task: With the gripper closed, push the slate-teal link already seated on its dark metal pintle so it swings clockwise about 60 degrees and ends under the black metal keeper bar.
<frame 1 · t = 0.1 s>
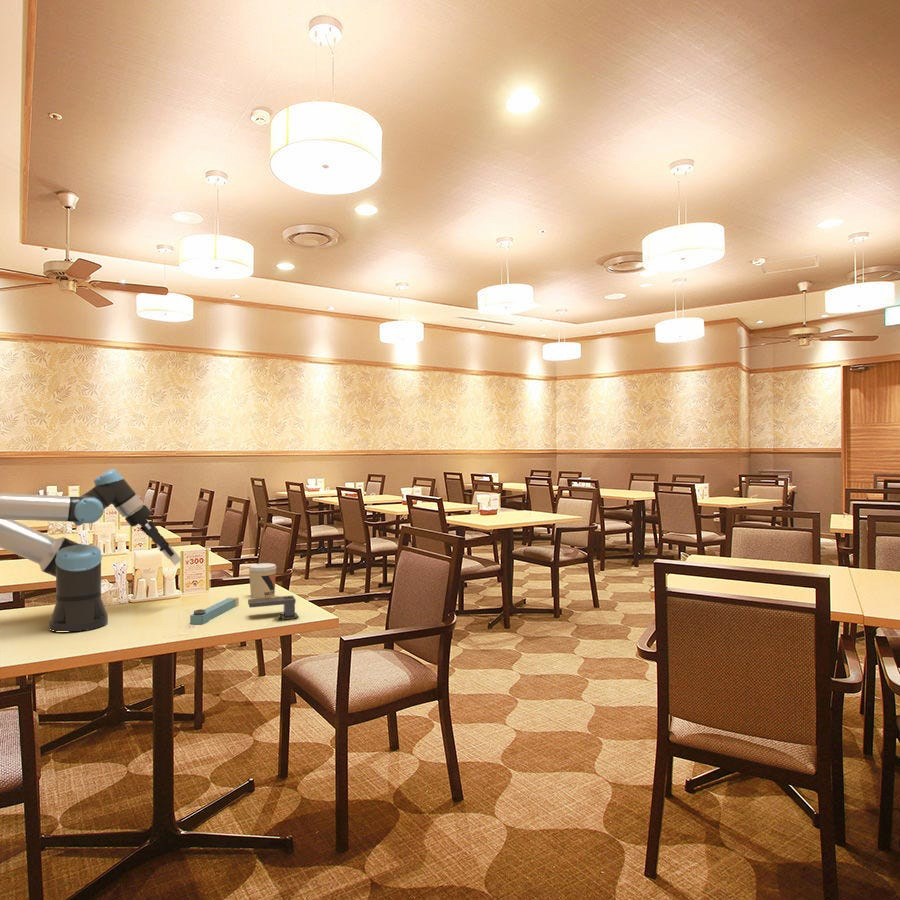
hand: (175, 559, 218), 15 cm above the table, tool tilted 35°, fingers open, 13 cm apart
keeper: (289, 617, 199), on the table
pintle base: (199, 626, 190), on the table
coffee cup: (262, 600, 225), on the table
swing link: (216, 609, 199), point 3 cm above the table, hinge at 0.0°
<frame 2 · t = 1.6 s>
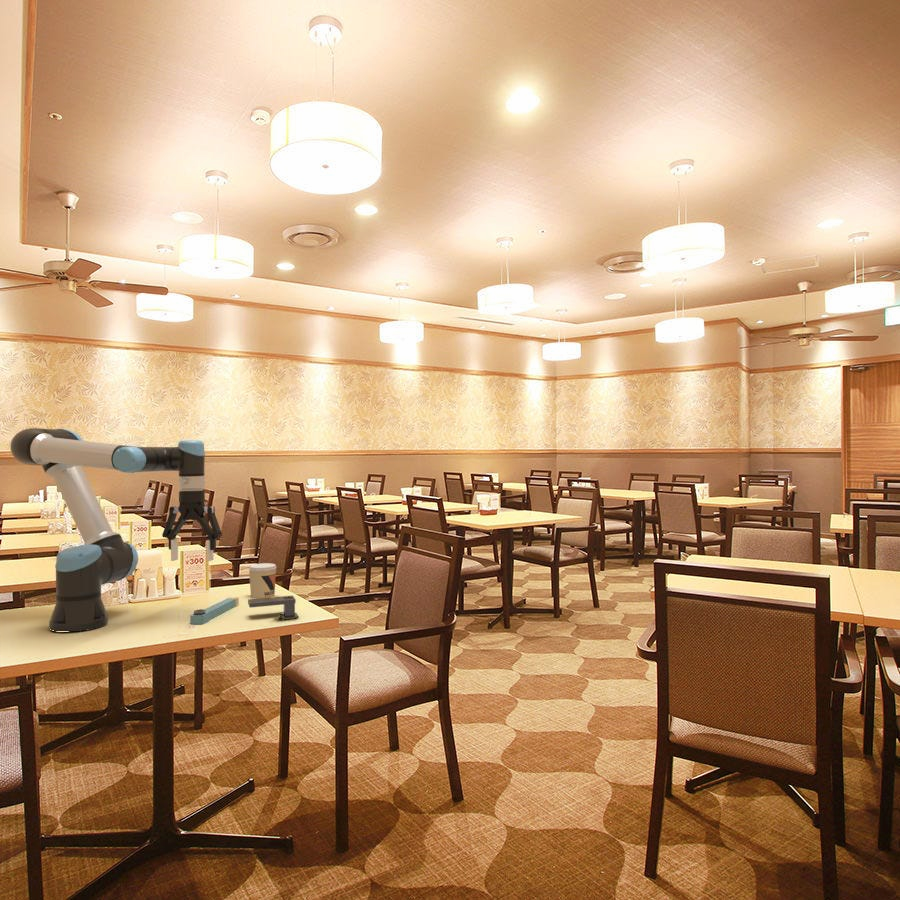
hand: (192, 560, 199), 18 cm above the table, tool pointing down, fingers open, 11 cm apart
nothing on the table moved.
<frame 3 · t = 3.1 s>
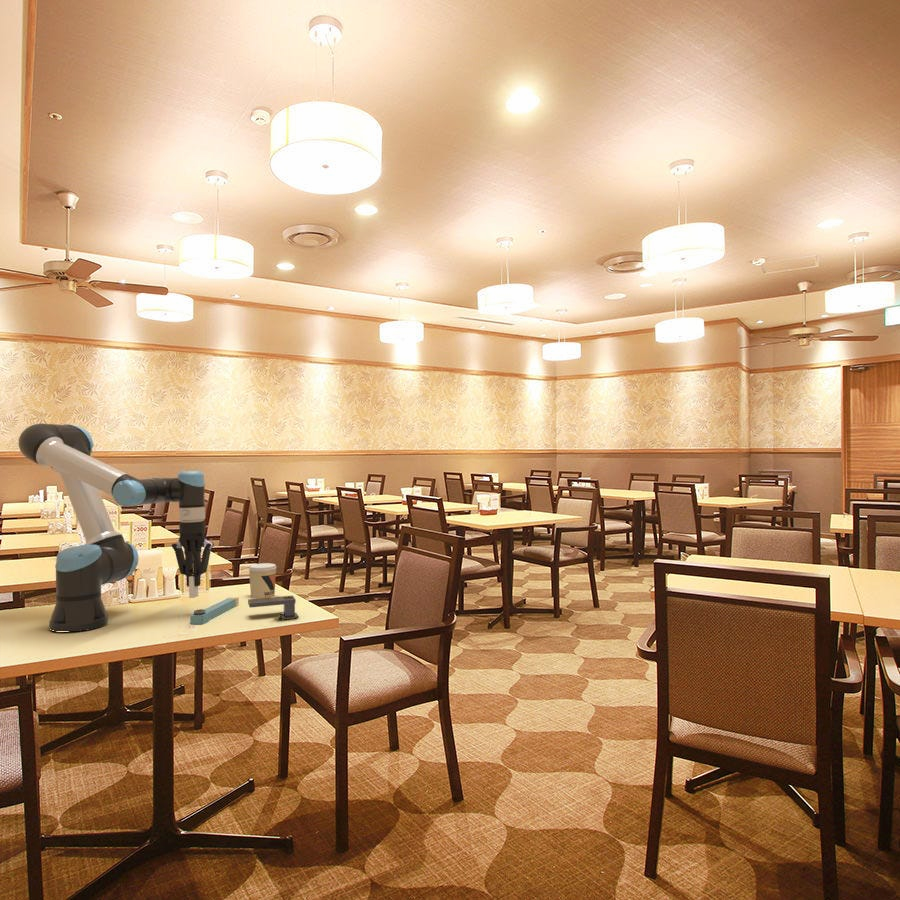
hand: (193, 596, 199), 7 cm above the table, tool pointing down, fingers closed
nothing on the table moved.
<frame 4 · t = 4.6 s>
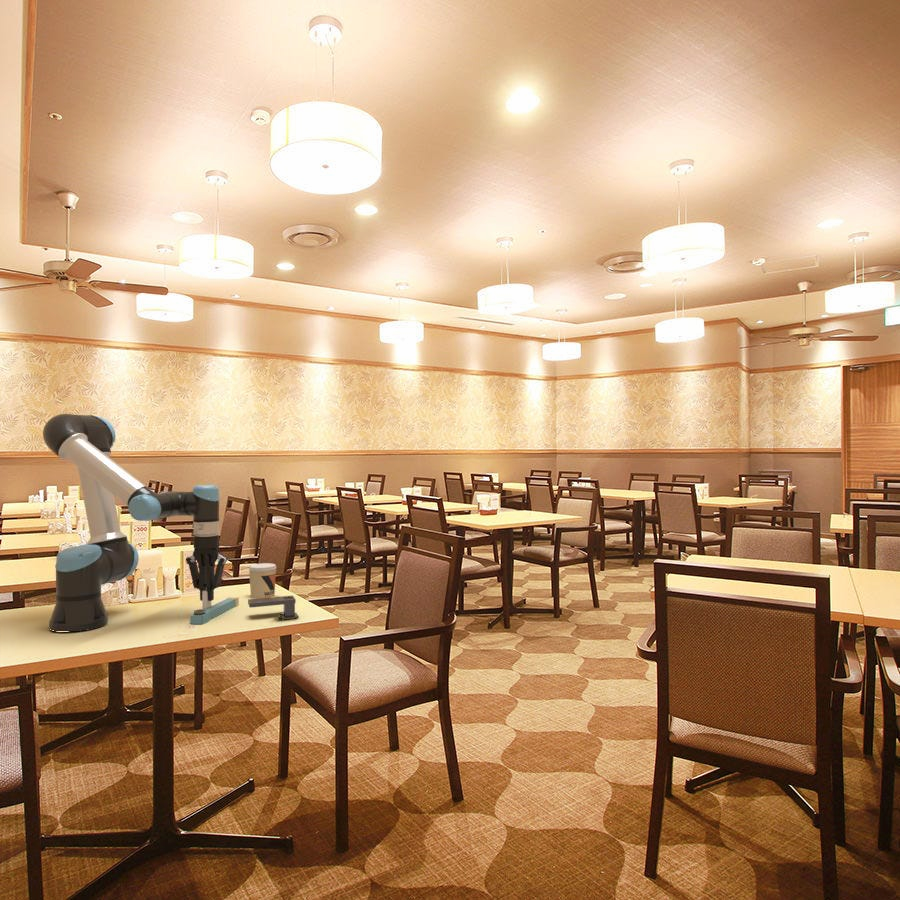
hand: (207, 611, 198), 3 cm above the table, tool pointing down, fingers closed
swing link: (216, 609, 199), point 3 cm above the table, hinge at 0.0°, touching gripper
everything else where it was.
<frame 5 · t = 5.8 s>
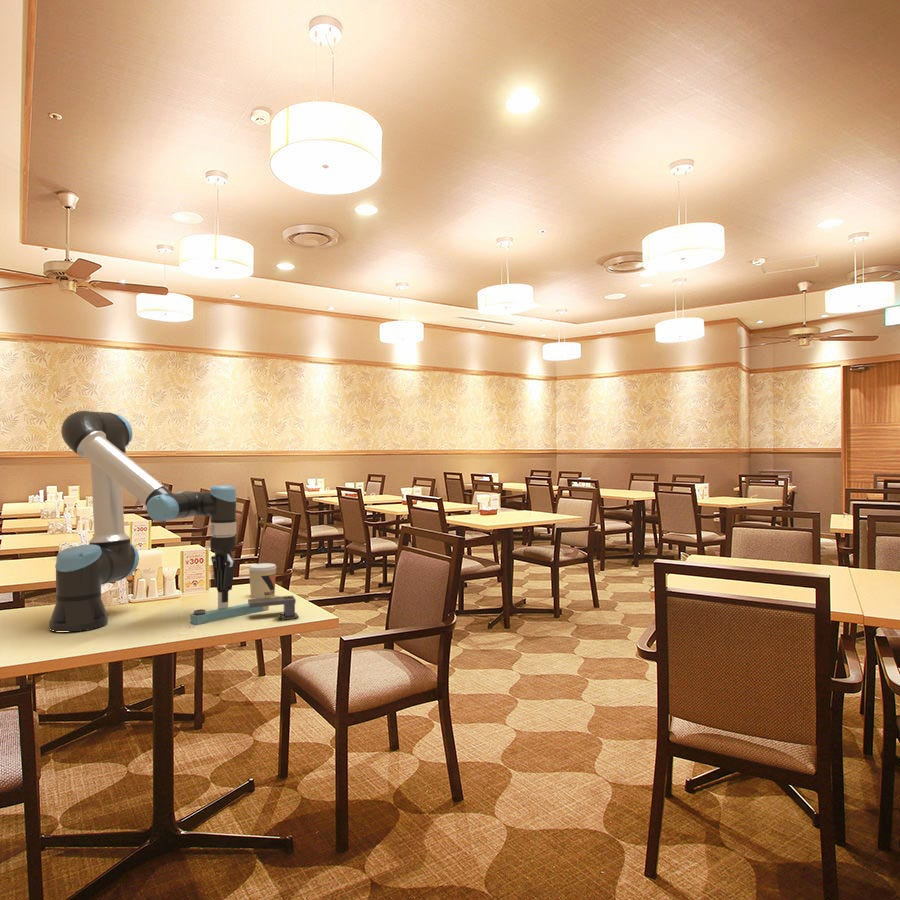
hand: (223, 612, 197), 2 cm above the table, tool pointing down, fingers closed
swing link: (231, 611, 197), point 3 cm above the table, hinge at -35.6°, touching gripper
everything else where it was.
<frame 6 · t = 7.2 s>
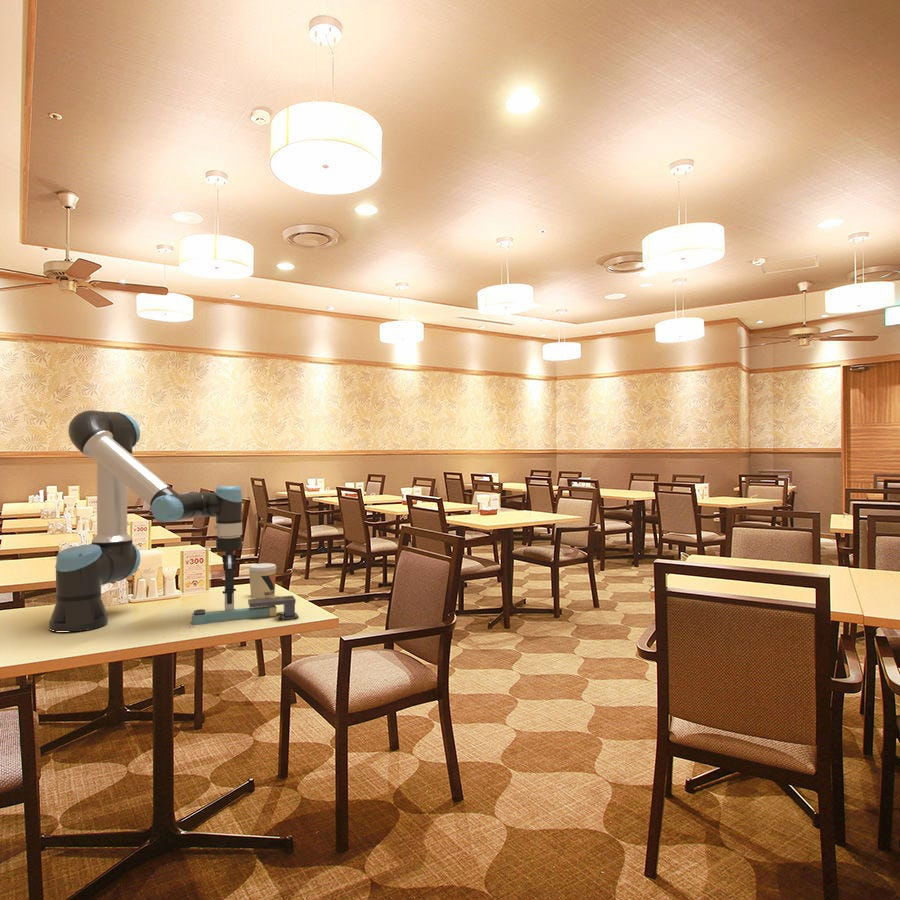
hand: (229, 613, 195), 2 cm above the table, tool pointing down, fingers closed
swing link: (235, 614, 194), point 3 cm above the table, hinge at -58.3°
everything else where it was.
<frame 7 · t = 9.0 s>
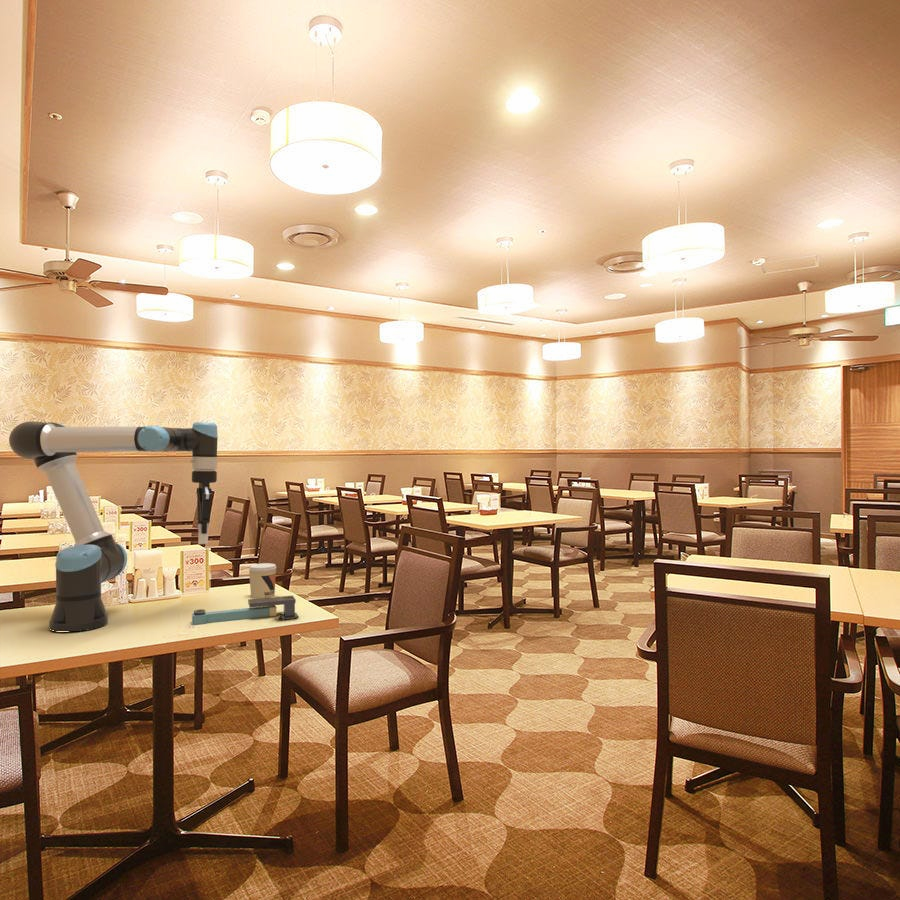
hand: (203, 543, 206), 22 cm above the table, tool pointing down, fingers closed
nothing on the table moved.
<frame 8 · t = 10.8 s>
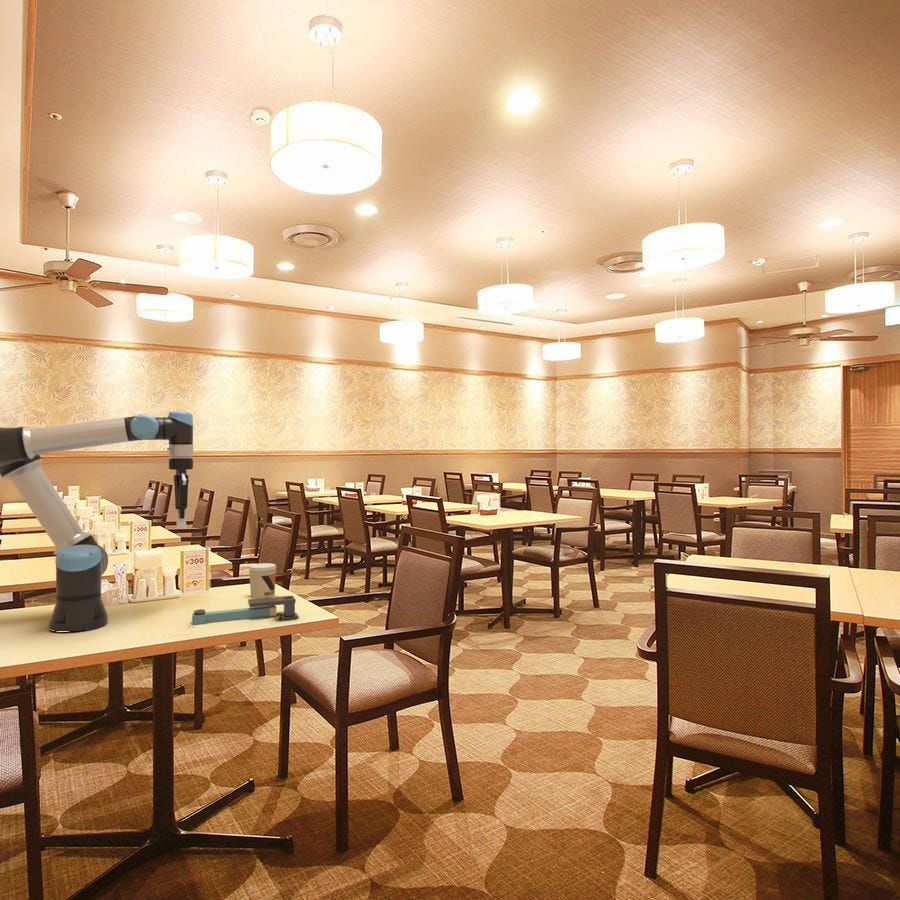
hand: (181, 528, 214), 26 cm above the table, tool pointing down, fingers closed
nothing on the table moved.
at the end: swing link at -58° (first picture: +0°); coffee cup moved 0.2 cm from its start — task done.
